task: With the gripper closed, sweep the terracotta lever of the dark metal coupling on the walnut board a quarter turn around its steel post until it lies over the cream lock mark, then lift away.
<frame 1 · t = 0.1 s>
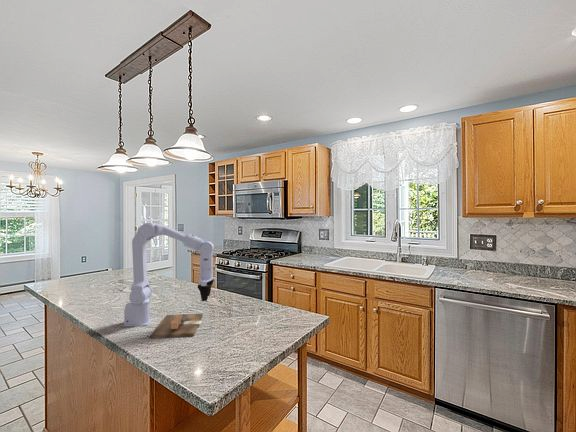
hand: (205, 298, 127), 10 cm above the countertop, tool pointing down, fingers open, 7 cm apart
coupling: (177, 320, 117), point 3 cm above the countertop, hinge at 0.0°
lock board: (179, 326, 120), on the countertop
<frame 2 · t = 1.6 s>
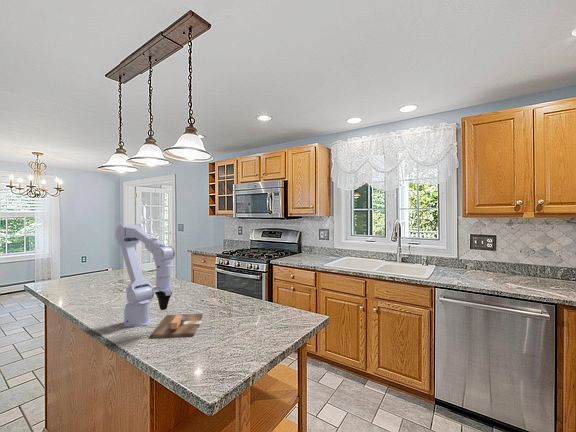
hand: (163, 309, 116), 8 cm above the countertop, tool pointing down, fingers closed
nothing on the countertop moved.
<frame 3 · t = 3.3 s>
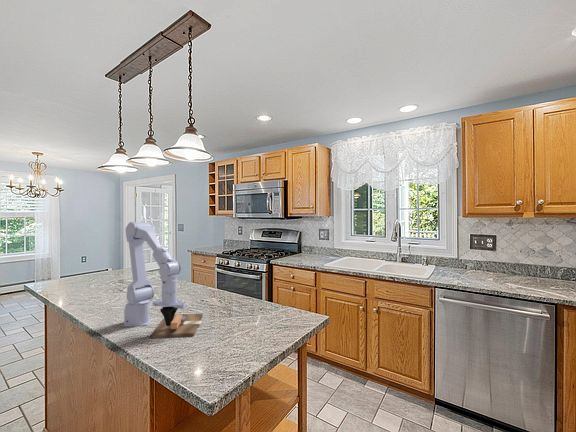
hand: (169, 325, 114), 3 cm above the countertop, tool pointing down, fingers closed
coupling: (177, 320, 117), point 3 cm above the countertop, hinge at 0.0°, touching gripper
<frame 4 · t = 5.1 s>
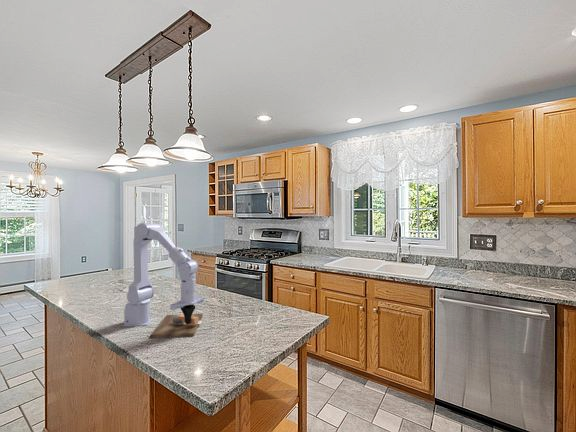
hand: (187, 323, 116), 3 cm above the countertop, tool pointing down, fingers closed, pressing on coupling
coupling: (185, 318, 119), point 4 cm above the countertop, hinge at 60.5°, touching gripper
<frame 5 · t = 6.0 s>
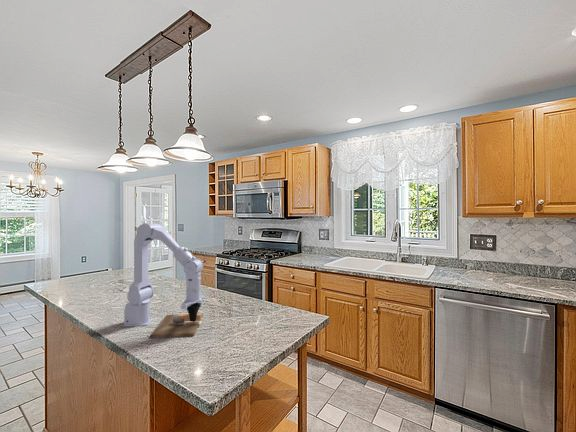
hand: (192, 321, 118), 3 cm above the countertop, tool pointing down, fingers closed, pressing on coupling
coupling: (187, 317, 120), point 3 cm above the countertop, hinge at 89.5°, touching gripper
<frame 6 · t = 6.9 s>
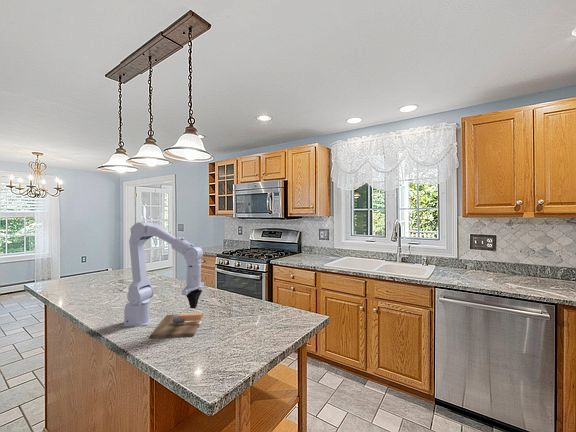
hand: (193, 307, 119), 8 cm above the countertop, tool pointing down, fingers closed
coupling: (187, 317, 120), point 3 cm above the countertop, hinge at 92.6°
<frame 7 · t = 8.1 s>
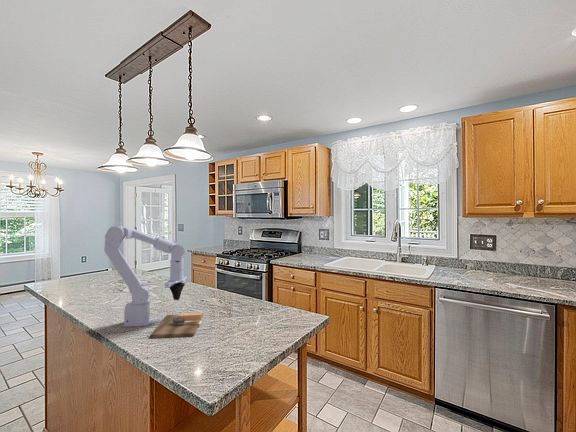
hand: (176, 299, 129), 8 cm above the countertop, tool pointing down, fingers closed
nothing on the countertop moved.
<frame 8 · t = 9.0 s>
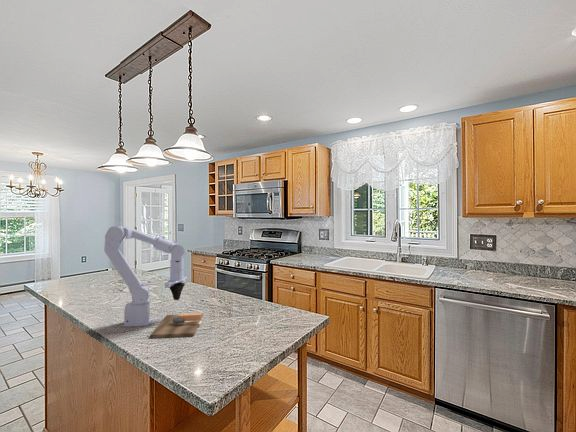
hand: (176, 299, 129), 8 cm above the countertop, tool pointing down, fingers closed
nothing on the countertop moved.
at the end: coupling at +93° (first picture: +0°); the gripper is holding nothing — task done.
